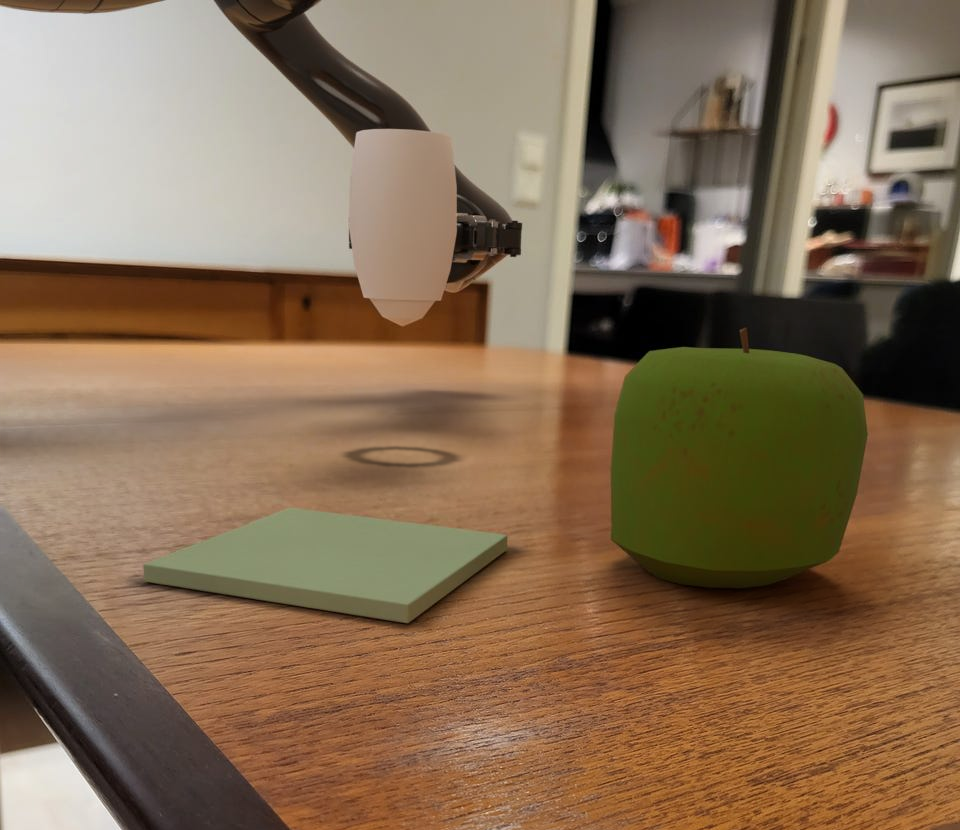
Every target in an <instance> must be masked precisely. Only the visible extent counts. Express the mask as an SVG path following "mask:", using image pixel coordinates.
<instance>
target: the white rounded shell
mask: <svg viewBox="0 0 960 830" xmlns="http://www.w3.org/2000/svg"><path fill="white" fill-rule="evenodd" d="M453 149H454V148H453V139H452V136H451V135H448V134H445V133H441V132H435V131H431V132H429V131H419V130H405V129H371V130H362V131H359V132H357V133H356V138H355V146H354V148H353V153H352V154H353V155H352V162H351V168H350V170H351V171H350V176H349V202H348V203H349V205H348V207H349V209H348V232H349V231H350V238H351V244H352V249H351V251H352V259H353V263H354V264H353V265H354V268H355V272H356V277H357V279H358V284H359V286H360V289H361V290H360V291H361V293H362V297H363V298H364V299H369V300H370V302H371V303H372V304H373V306H374V307H375V309H376V310H377V311H378V313H379V314H380V316H381V317H382V318H384V319H386V320H388V321H390V322H392V323H395V324H396V325H398V326H401V327H405V326H407V325H410V324H412V323H415V322H417V321H419V320H421V319H423V318H424V317H425V316H426V315H427V313H428V311H429V310H430V309H431V308H432V306H433V305H434V303H436V302H438V301H442V299H443V295H444V292H445V290H444V289H445V286H446V283H447V279H448V276H449V273H450V269H451V263H452V257H453V251H454V245H455V240H456V234H457V185H456V176H455V166H456V165H455V159H454V150H453ZM454 165H455V166H454Z"/></svg>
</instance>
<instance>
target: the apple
mask: <svg viewBox="0 0 960 830" xmlns="http://www.w3.org/2000/svg"><path fill="white" fill-rule="evenodd" d="M739 335H740V341H741V347H742V348H724V347H723V348H719V347H718V348H715V347H714V348H713V347H712V348H711V347H710V348H709V347H690V346H689V347H688V346H681V347H672V348H663V349H656V350H649V351H648V352H647V353H645V355H644V356H643V357H642V358H641V359H640V360H639V361H638V362H637V363H636V364H635V365H634V366H633V367H632V368H631V369H630V370H629V371H628V372H627V373H626V374H625V375H624V378H623V380H622V384H621V388H620V393H619V396H618V400H617V404H616V407H615V411H614V417H613V431H612V443H611V444H612V447H611V458H610V460H611V461H610V522H611V524H610V525H611V526H610V527H611V528H610V540H611V541H612V542H613V543H614V544H616V545H617V546H618V547H619V548H620V549H621V550H623V551H624V552H625V553H626V554H627V555H628V556H629V557H630V558H632V559H633V560H634V561H635V562H636V563H638V564H639V565H640V567H642V568H643V569H644V570H646V571H647V572H648V573H650V574H651V575H653V576H655V578H657V579H660V580H664V581H667V582H670V583H674V584H677V585H682V586H692V587H702V588H710V589H711V588H713V589H714V588H716V589H746V588H756V587H763V586H764V587H765V586H770V585H773V584H776V583H778V582H781V581H784V580H787V579H789V578H792V577H794V576H796V575H799V574H800V573H803V572H806V571H809V570H811V569H813V568H815V567H818V566H820V565H822V564H824V563H827V562H829V561H831V560H832V559H833V558H834V557H835V556H836V555H838V553H840V549H841V546H842V543H843V540H844V538H845V534H846V531H847V528H848V524H849V521H850V518H851V514H852V511H853V508H854V505H855V501H856V499H857V496H858V490H859V485H860V479H861V474H862V469H863V463H864V457H865V452H866V446H867V442H868V435H869V433H868V425H867V418H866V409H865V401H864V399H865V398H864V394H863V392H862V391H861V390H860V389H859V387H858V386H857V385H856V384H855V383H854V381H853V380H852V379H851V378H850V376H849V375H848V373H847V372H846V371H845V370H844V369H843V368H842V367H841V366H839V365H838V364H836V363H833V362H830V361H826V360H822V359H819V358H816V357H812V356H808V355H804V354H801V353H794V352H785V351H777V350H770V349H769V350H768V349H756V348H755V349H754V348H750V347H749V336H748V327H743V328H742V329H741V328H740V329H739Z"/></svg>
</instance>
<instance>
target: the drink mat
mask: <svg viewBox="0 0 960 830" xmlns="http://www.w3.org/2000/svg"><path fill="white" fill-rule="evenodd" d="M508 537H509V536H508V535H507V534H505V533H498V532H497V533H495V532H490V531H489V532H487V531H481V530H472V529H464V528H456V527H449V526H440V525H433V524H424V523H417V522H410V521H409V522H407V521H401V520H400V521H399V520H394V519H393V520H392V519H385V518H376V517H369V516H368V517H367V516H361V515H353V514H344V513H338V512H337V513H336V512H328V511H321V510H312V509H304V508H297V507H288V508H284V509H283V510H280V511H277V512H275V513H272V514H269V515H267V516H265V517H261V518H259V519H257V520H254V521H251V522H248V523H247V524H244V525H241V526H239V527H236V528H233V529H230V530H228V531H225V532H223V533H220V534H218V535H215V536H212V537H210V538H207V539H205V540H202V541H199V542H197V543H194V544H192V545H189V546H187V547H184V548H181V549H178V550H176V551H173V552H171V553H169V554H166V555H163V556H161V557H157V558H155V559H153V560H150V561H148V562H145V563H143V565H142V566H143V579H144V582H145V583H151V584H157V585H164V586H170V587H175V588H181V589H182V588H183V589H189V590H194V591H202V592H209V593H213V594H220V595H226V596H231V597H238V598H245V599H253V600H258V601H264V602H271V603H277V604H283V605H290V606H297V607H302V608H309V609H314V610H321V611H327V612H334V613H341V614H348V615H352V616H358V617H365V618H371V619H378V620H385V621H391V622H396V623H402V624H409V623H410V622H412V621H413V620H415V619H416V618H418V617H419V616H420V615H421V614H423V613H424V612H425V611H427V610H428V609H429V608H431V607H432V606H434V605H435V604H436V603H438V602H439V601H440V600H442V599H443V598H444V597H447V595H449V594H450V593H451V592H453V591H454V590H455V589H457V588H458V587H459V586H460V585H463V583H465V582H466V581H467V580H469V579H470V578H471V577H473V576H474V575H475V574H477V573H478V572H479V571H481V570H483V568H485V567H486V566H487V565H489V564H490V563H491V562H493V561H494V560H495V559H497V558H498V557H500V556H501V555H502V554H504V553H505V552H506V551H507V550H508V539H509V538H508Z"/></svg>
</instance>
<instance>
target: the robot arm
mask: <svg viewBox="0 0 960 830" xmlns="http://www.w3.org/2000/svg"><path fill="white" fill-rule="evenodd" d="M165 1H166V0H0V7H3V8H6V9H11V10H16V11H17V10H18V11H24V12H34V13H46V14H47V13H49V14H50V13H52V14H53V13H54V14H55V13H56V14H83V15H87V14H88V15H89V14H104V13H105V14H106V13H114V12H121V11H126V10H127V11H128V10H132V9H136V8H141V7H144V6H145V7H146V6H148V5H153V4H155V3H160V2H165ZM322 1H323V0H213V2H214V4H215V5H216V7H217V8H218V9H219V11H220V12H221V13H222V14H223V15H224V17H225V18H226V19H227V20H228V21H229V22H230V23H231V25H232V26H234V28H236V30H237V31H238V32H239V33H240V34H241V35H242V36H243V37H244V38H245V39H246V40H247V41H248V42H249V44H251V45H252V46H253V47H254V48H255V49H256V50H257V51H258V52H259V53H260V54H261V55H263V56H264V58H265V59H266V60H268V61H269V63H271V64H272V66H274V68H275V69H277V71H278V72H280V74H281V75H282V76H283V77H284V78H285V79H286V80H287V81H288V82H289V83H290V84H292V85H293V86H294V87H295V89H297V90H298V91H299V92H300V93H301V94H302V95H303V96H304V98H306V100H308V101H309V102H310V103H311V104H312V105H313V106H314V107H315V108H316V109H317V111H319V112H320V113H321V114H322V115H323V116H324V117H325V118H326V119H327V120H328V121H329V122H330V124H331V125H333V127H335V128H336V130H337V131H338V132H339V133H340V134H341V135H342V136H343V138H344V139H345V140H346V141H347V142H348V143H349V145H350V146H351V147H352V148H353V149H354V146H355V138H356V133H357V132H359V131H362V130H371V129H405V130H419V131H429V132H432V131H431V128H430V127H428V124H426V122H425V120H424V119H423V118H422V116H421V115H420V113H418V111H417V110H416V109H415V108H414V106H412V105H411V103H409V102H408V100H407V99H406V98H404V97H403V96H402V95H400V93H398V91H396V90H394V89H393V88H392V87H391V86H389V85H388V84H386V83H385V82H383V81H382V80H380V79H379V78H377V77H376V76H375V75H373V74H371V73H369V72H368V71H366V70H365V69H363V68H362V67H360V66H359V65H357V64H356V63H354V62H353V61H351V60H350V59H349V58H347V57H346V56H345V55H344V54H342V52H341V51H339V50H338V49H336V48H335V47H334V46H333V45H332V44H331V43H330V42H329V41H328V40H327V39H326V38H325V37H324V36H323V35H322V34H321V32H319V31H318V29H317V28H316V27H315V25H314V24H313V23H312V21H311V20H310V19H309V17H308V15H307V14H306V12H308V11H310V10H311V9H312V8H314V7H316V6H317V5H319V3H321V2H322ZM454 166H455V176H456V185H457V234H456V240H455V245H454V251H453V257H452V263H451V269H450V273H449V276H448V279H447V283H446V286H445V289H444V292H448V293H458V292H460V291H462V290H465V288H466V287H468V286H470V285H471V284H472V283H473V282H475V281H476V279H479V278H480V277H481V276H482V275H484V274H486V272H488V271H489V270H490V269H492V268H493V267H494V266H496V265H497V264H499V263H500V262H502V261H503V259H505V258H507V256H509V257H510V258H517V256H521V255H522V232H523V222H519V220H513V219H512V217H511V216H510V214H509V213H508V211H507V210H506V209H505V208H504V207H503V206H502V205H501V204H500V203H499V202H498V201H496V199H494V198H492V196H490V195H489V194H487V192H485V191H484V190H482V189H481V188H480V187H478V186H477V185H476V184H475V183H473V181H471V180H470V178H468V176H466V175H465V174H464V173H463V172H462V171H461V170H460V169H459V168H458V167H457V166H456V164H454ZM348 249H350V250H352V244H351V238H350V231H349V230H348Z"/></svg>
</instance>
